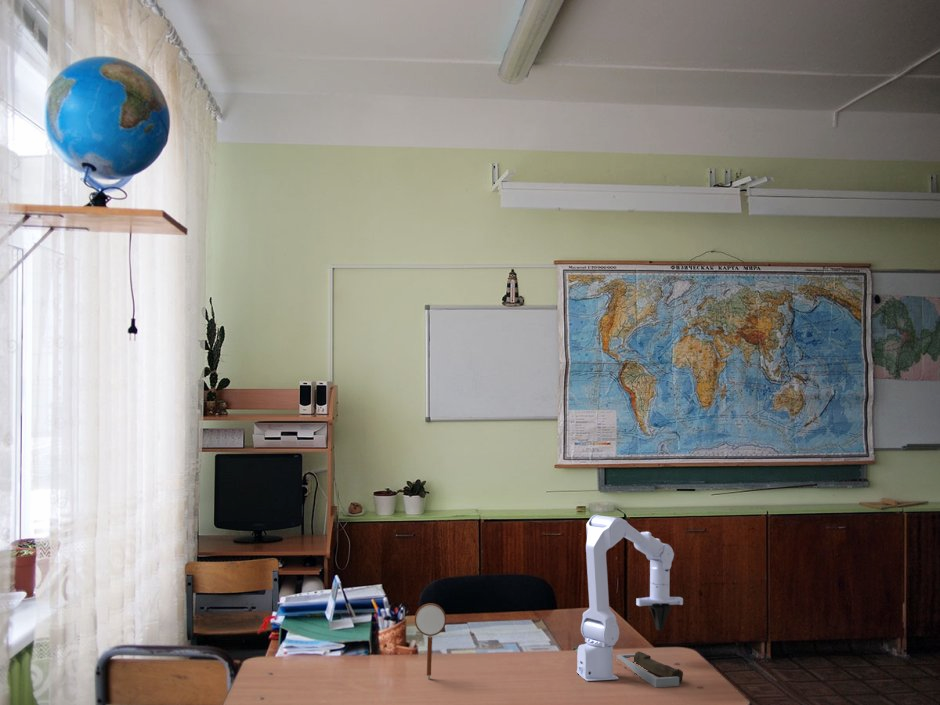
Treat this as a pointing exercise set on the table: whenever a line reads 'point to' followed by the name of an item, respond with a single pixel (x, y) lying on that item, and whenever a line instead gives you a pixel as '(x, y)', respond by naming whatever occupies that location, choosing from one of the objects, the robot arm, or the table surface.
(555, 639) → the table surface
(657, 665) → the brown rough log
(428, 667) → the magnifying glass
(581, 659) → the robot arm
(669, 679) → the box
